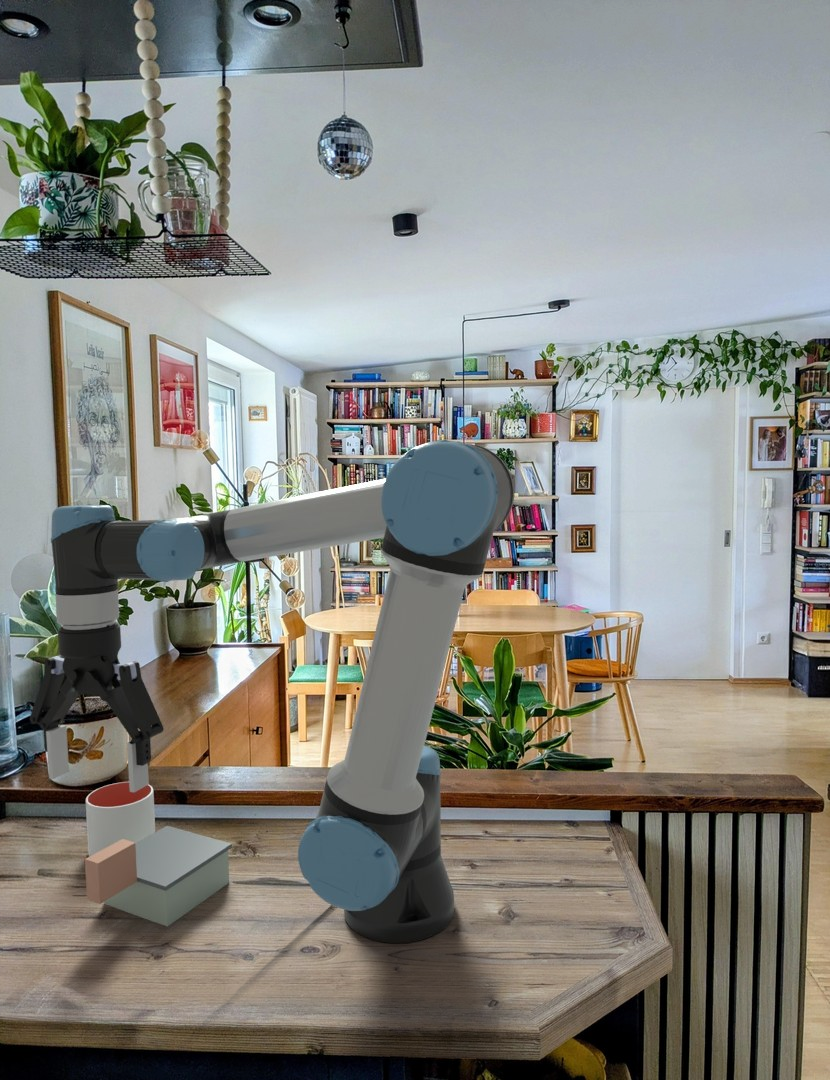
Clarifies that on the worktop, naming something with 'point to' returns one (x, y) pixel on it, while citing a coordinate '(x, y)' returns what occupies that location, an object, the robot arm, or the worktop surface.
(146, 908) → the tub
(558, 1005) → the worktop surface
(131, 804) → the cup
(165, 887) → the lid
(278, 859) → the worktop surface
